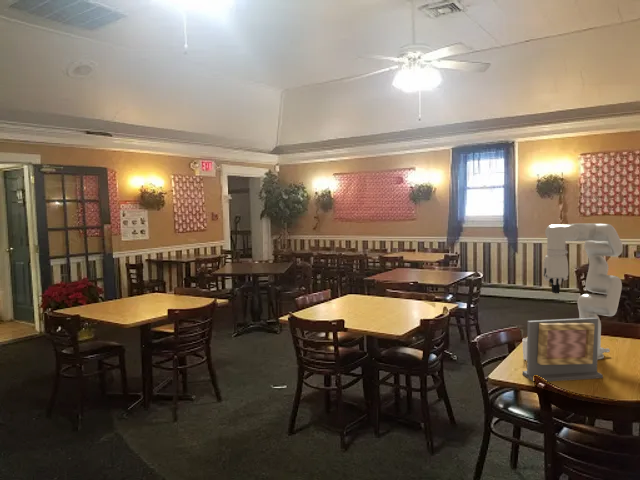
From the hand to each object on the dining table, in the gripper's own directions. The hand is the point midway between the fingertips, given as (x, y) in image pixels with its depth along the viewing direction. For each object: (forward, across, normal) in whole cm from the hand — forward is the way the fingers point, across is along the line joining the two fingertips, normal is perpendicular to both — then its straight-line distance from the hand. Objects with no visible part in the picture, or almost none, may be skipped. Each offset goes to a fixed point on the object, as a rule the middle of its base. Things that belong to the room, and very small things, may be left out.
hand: (555, 292), depth 226 cm
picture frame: (+30, +1, +9) cm, 31 cm away
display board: (+37, 0, +6) cm, 38 cm away
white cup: (+37, +2, -18) cm, 41 cm away
